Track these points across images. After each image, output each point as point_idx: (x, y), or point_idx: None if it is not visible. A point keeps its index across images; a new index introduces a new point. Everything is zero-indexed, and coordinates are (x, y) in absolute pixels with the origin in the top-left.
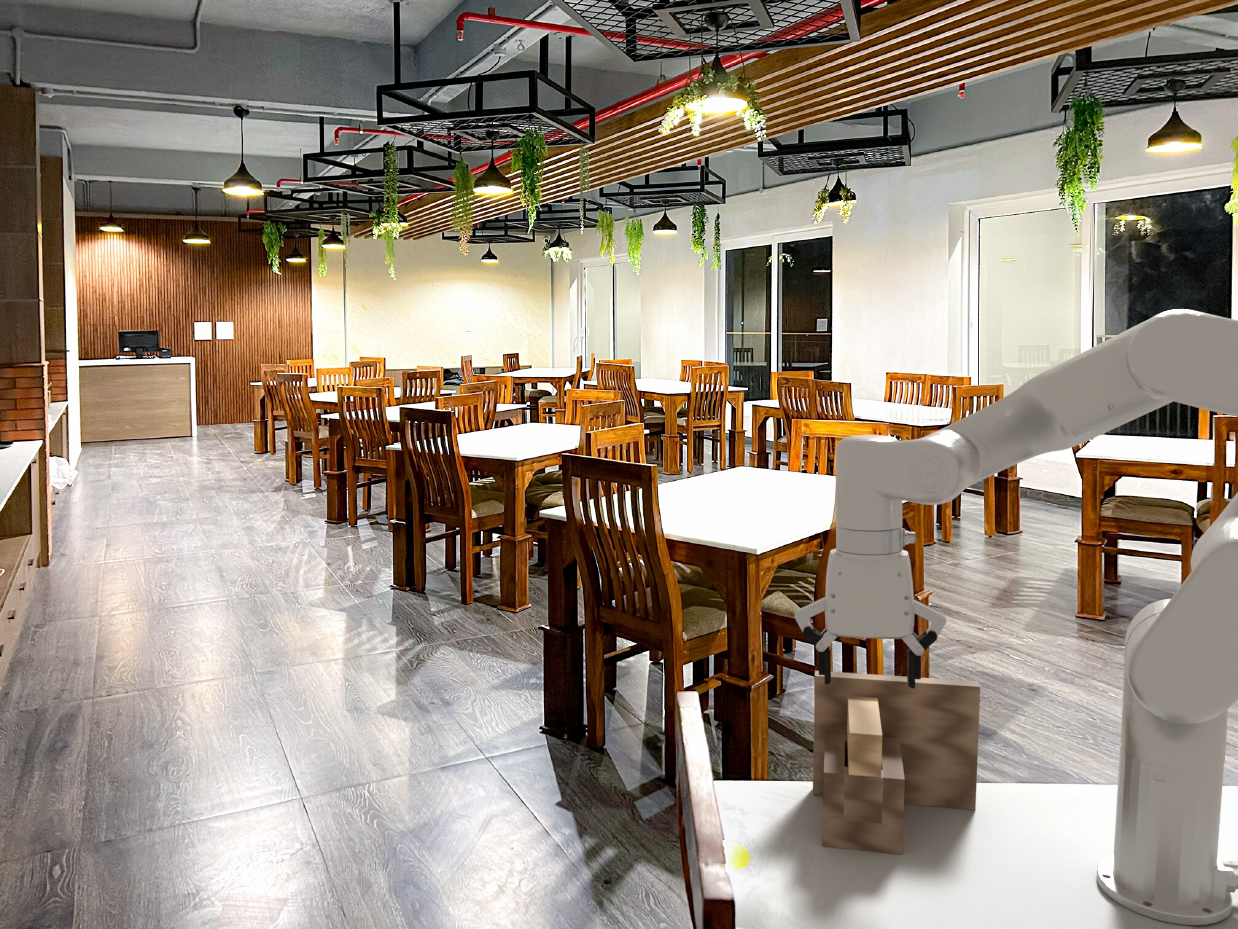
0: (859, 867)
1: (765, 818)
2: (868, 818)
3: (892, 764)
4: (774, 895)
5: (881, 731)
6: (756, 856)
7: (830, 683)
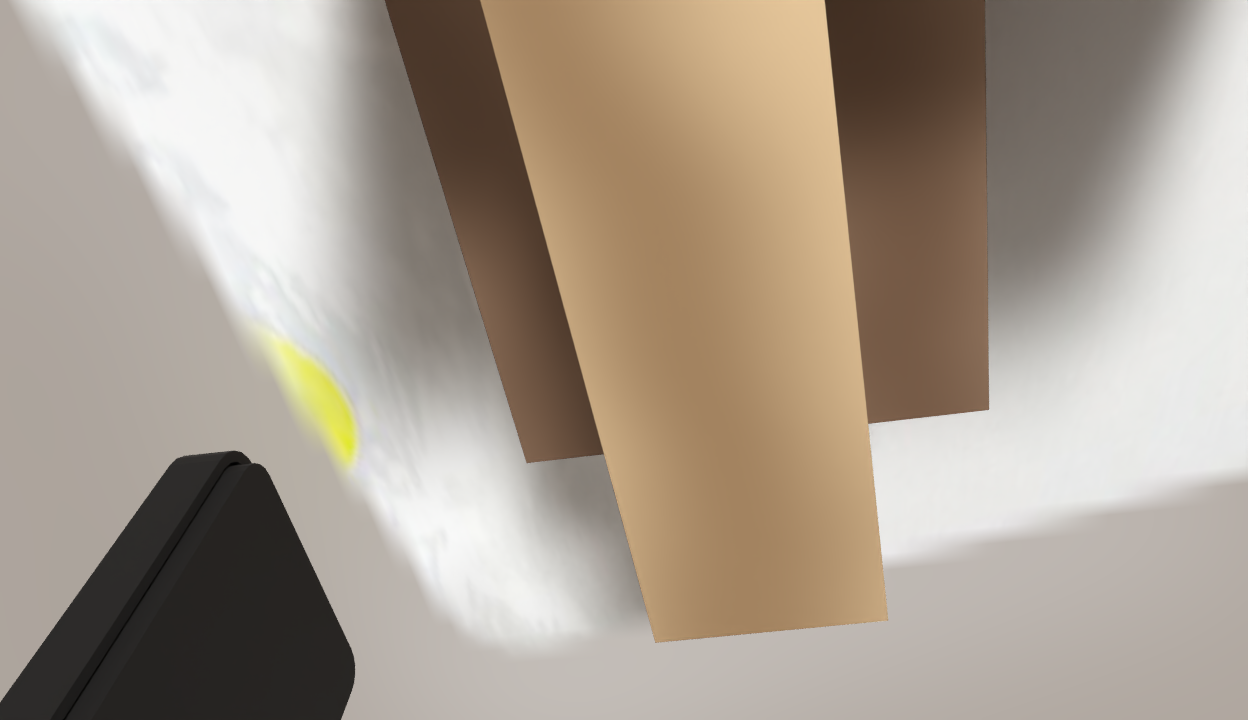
0: None
1: (257, 88)
2: None
3: (916, 234)
4: (507, 562)
5: (880, 565)
6: (363, 387)
7: (351, 657)
